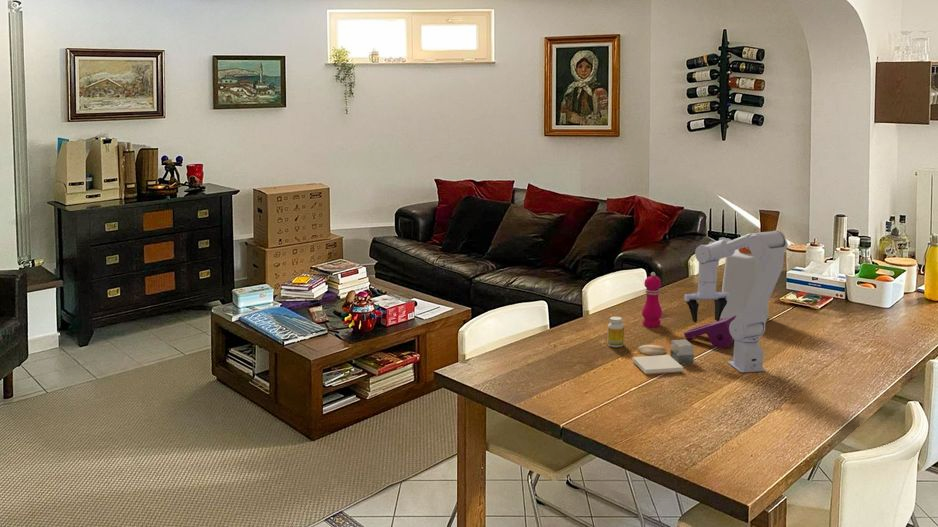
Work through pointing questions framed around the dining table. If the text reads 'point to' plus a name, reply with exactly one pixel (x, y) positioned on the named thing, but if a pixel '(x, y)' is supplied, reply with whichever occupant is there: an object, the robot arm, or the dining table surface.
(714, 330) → the mounting bracket
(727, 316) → the plastic bottle
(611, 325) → the supplement bottle
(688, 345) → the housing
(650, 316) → the pepper mill
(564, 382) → the dining table surface
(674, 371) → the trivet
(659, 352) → the metal coaster
